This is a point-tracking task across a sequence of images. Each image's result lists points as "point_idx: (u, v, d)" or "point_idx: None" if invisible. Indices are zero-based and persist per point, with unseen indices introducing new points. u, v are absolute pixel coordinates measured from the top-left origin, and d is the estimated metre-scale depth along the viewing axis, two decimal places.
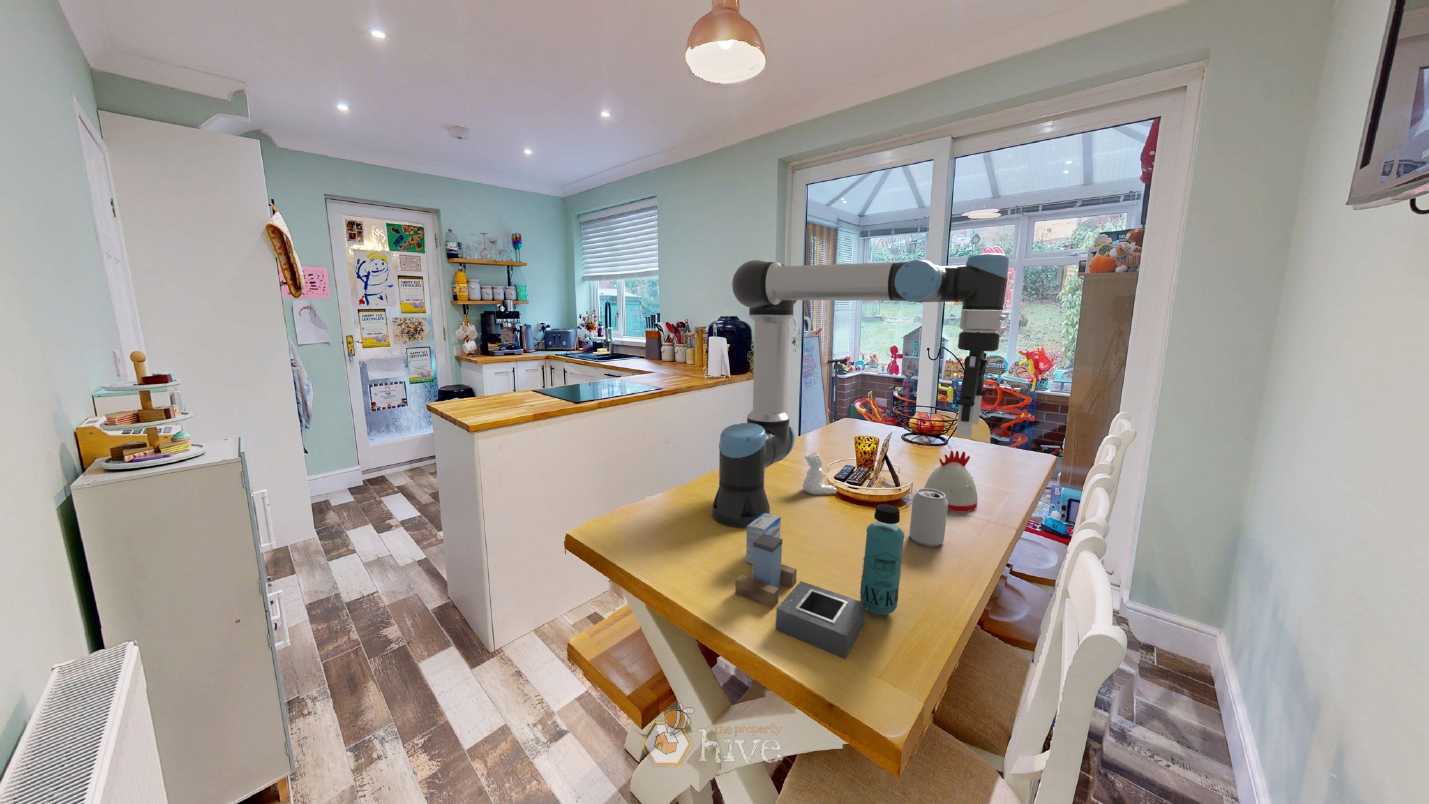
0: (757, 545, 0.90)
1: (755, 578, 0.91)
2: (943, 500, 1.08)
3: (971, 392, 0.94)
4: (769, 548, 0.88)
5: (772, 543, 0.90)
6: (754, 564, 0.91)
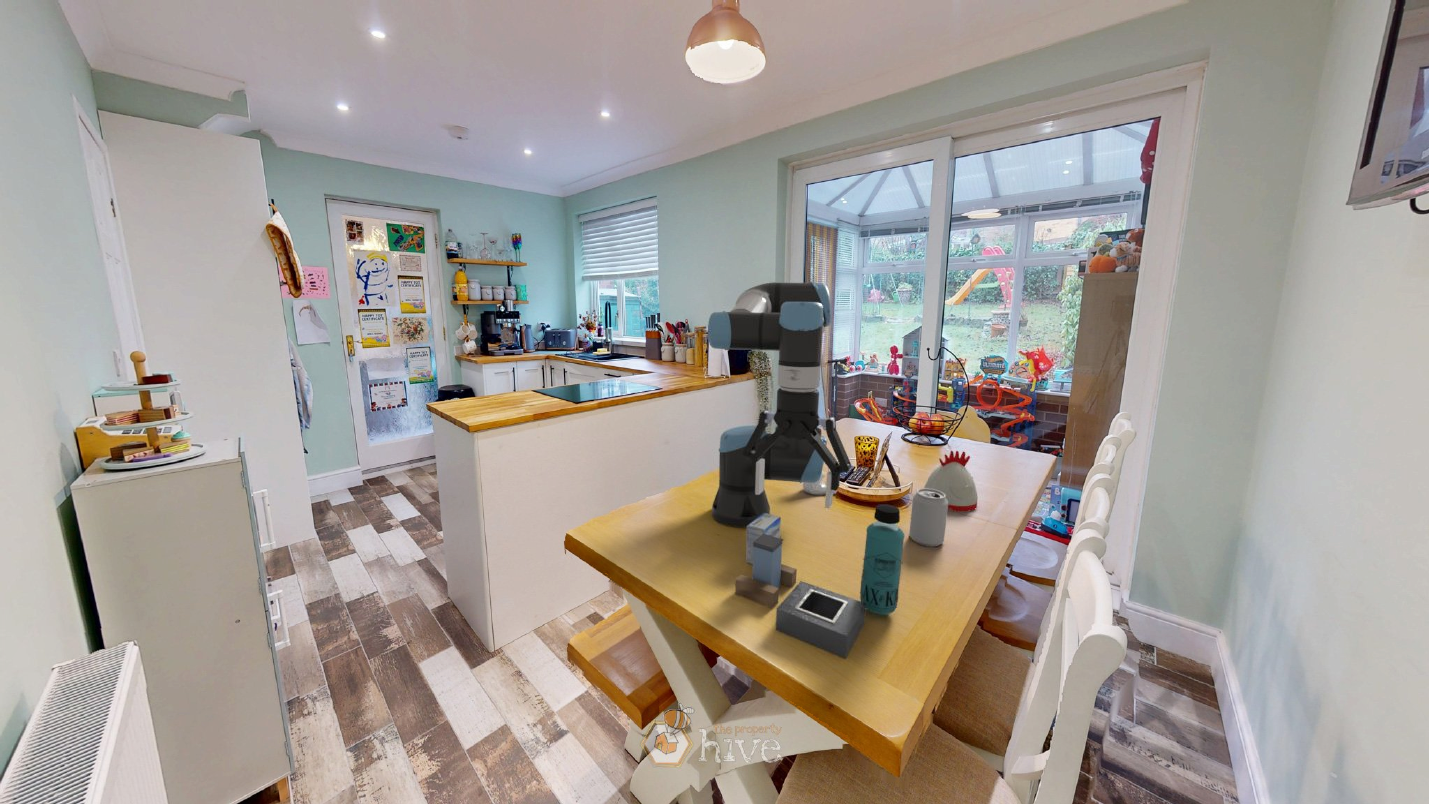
0: (757, 545, 0.90)
1: (755, 578, 0.91)
2: (943, 500, 1.08)
3: None
4: (769, 548, 0.88)
5: (772, 543, 0.90)
6: (754, 564, 0.91)
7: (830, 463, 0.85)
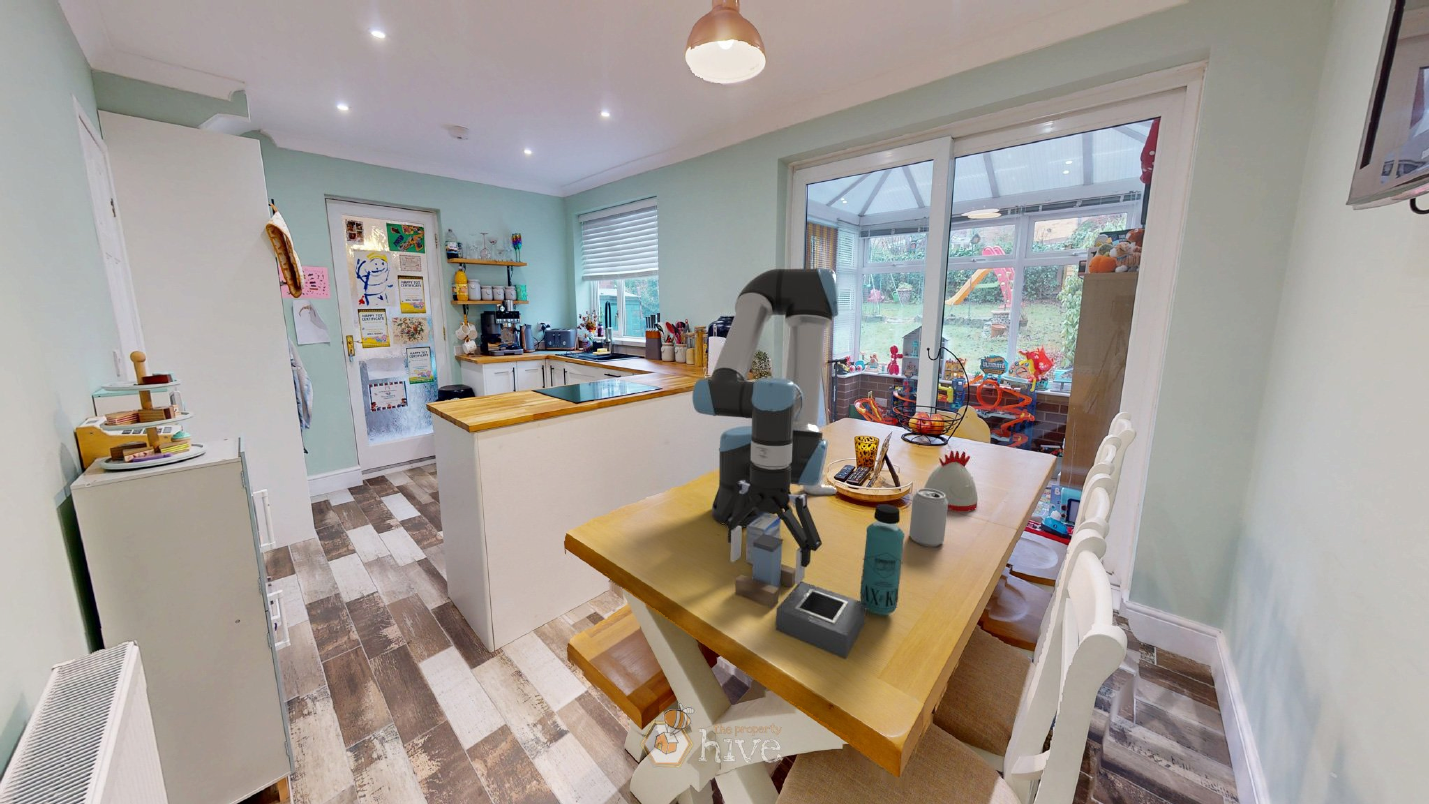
0: (757, 545, 0.90)
1: (755, 578, 0.91)
2: (943, 500, 1.08)
3: None
4: (769, 548, 0.88)
5: (772, 543, 0.90)
6: (754, 564, 0.91)
7: (799, 540, 0.85)
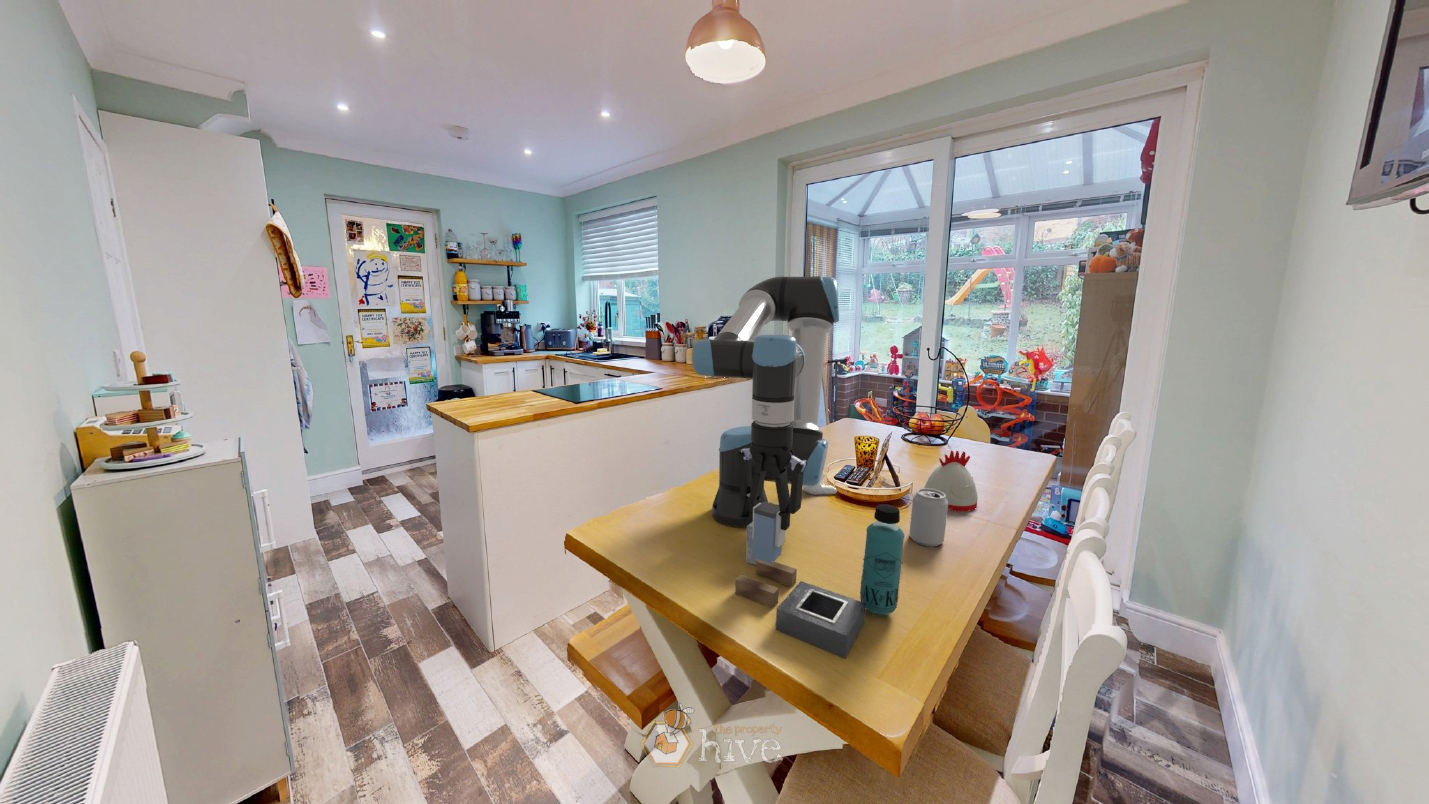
0: (758, 511, 0.89)
1: (756, 545, 0.90)
2: (943, 500, 1.08)
3: None
4: (770, 514, 0.87)
5: (773, 510, 0.89)
6: (755, 531, 0.90)
7: (782, 504, 0.87)
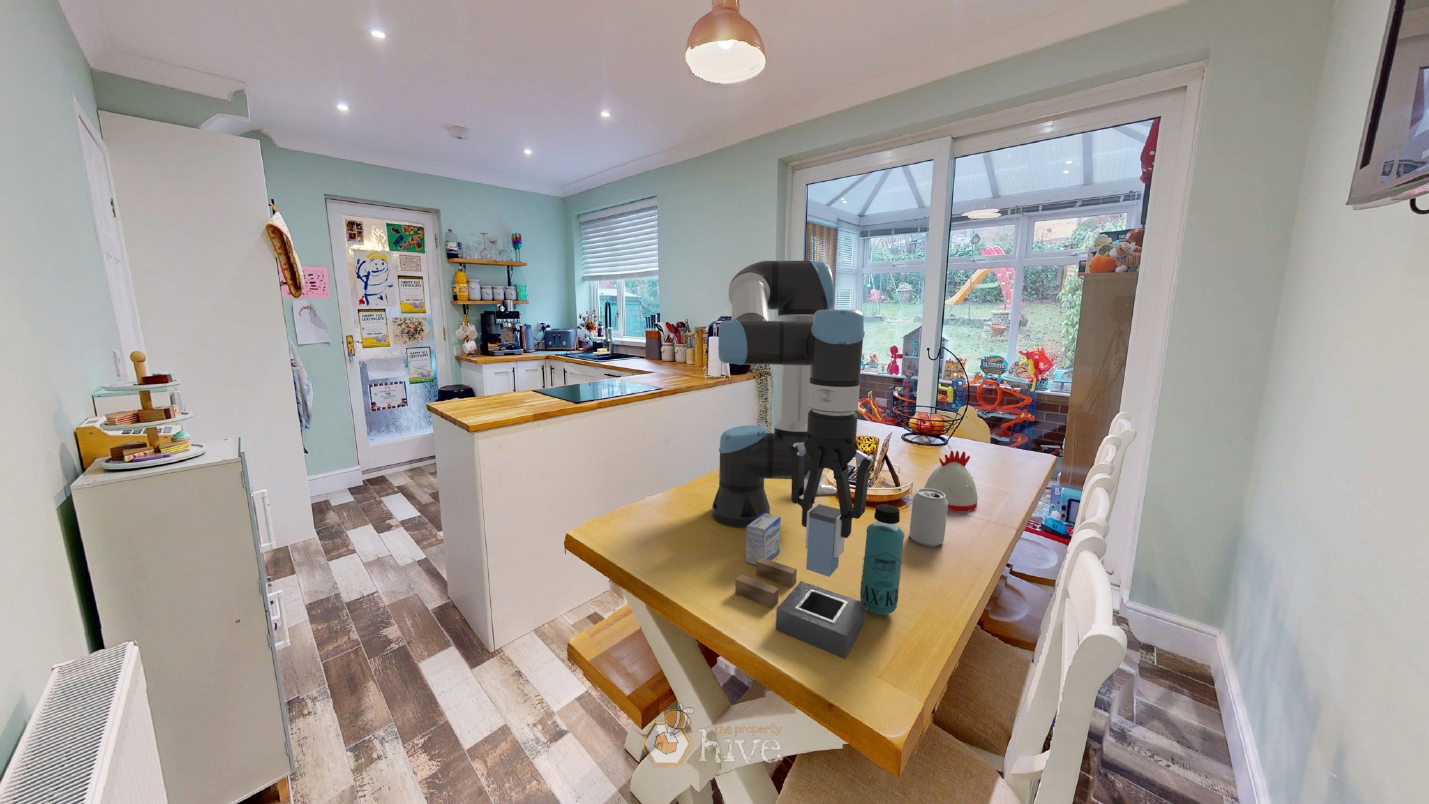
0: (814, 515, 0.76)
1: (810, 555, 0.78)
2: (943, 500, 1.08)
3: None
4: (830, 518, 0.75)
5: (832, 513, 0.76)
6: (810, 538, 0.77)
7: (844, 506, 0.74)
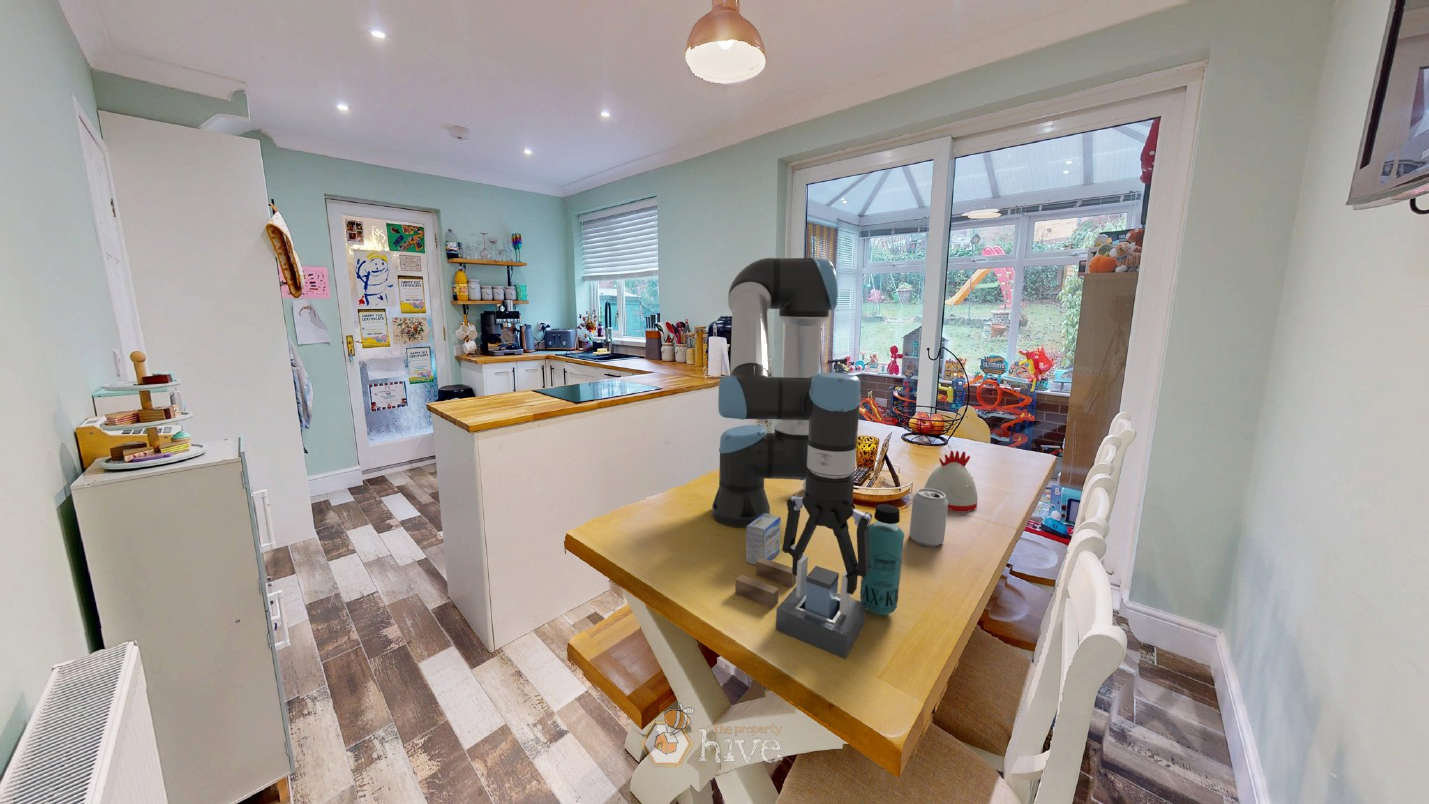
0: (811, 580, 0.78)
1: None
2: (943, 500, 1.08)
3: None
4: (826, 585, 0.77)
5: (828, 578, 0.78)
6: (807, 601, 0.79)
7: (849, 564, 0.76)
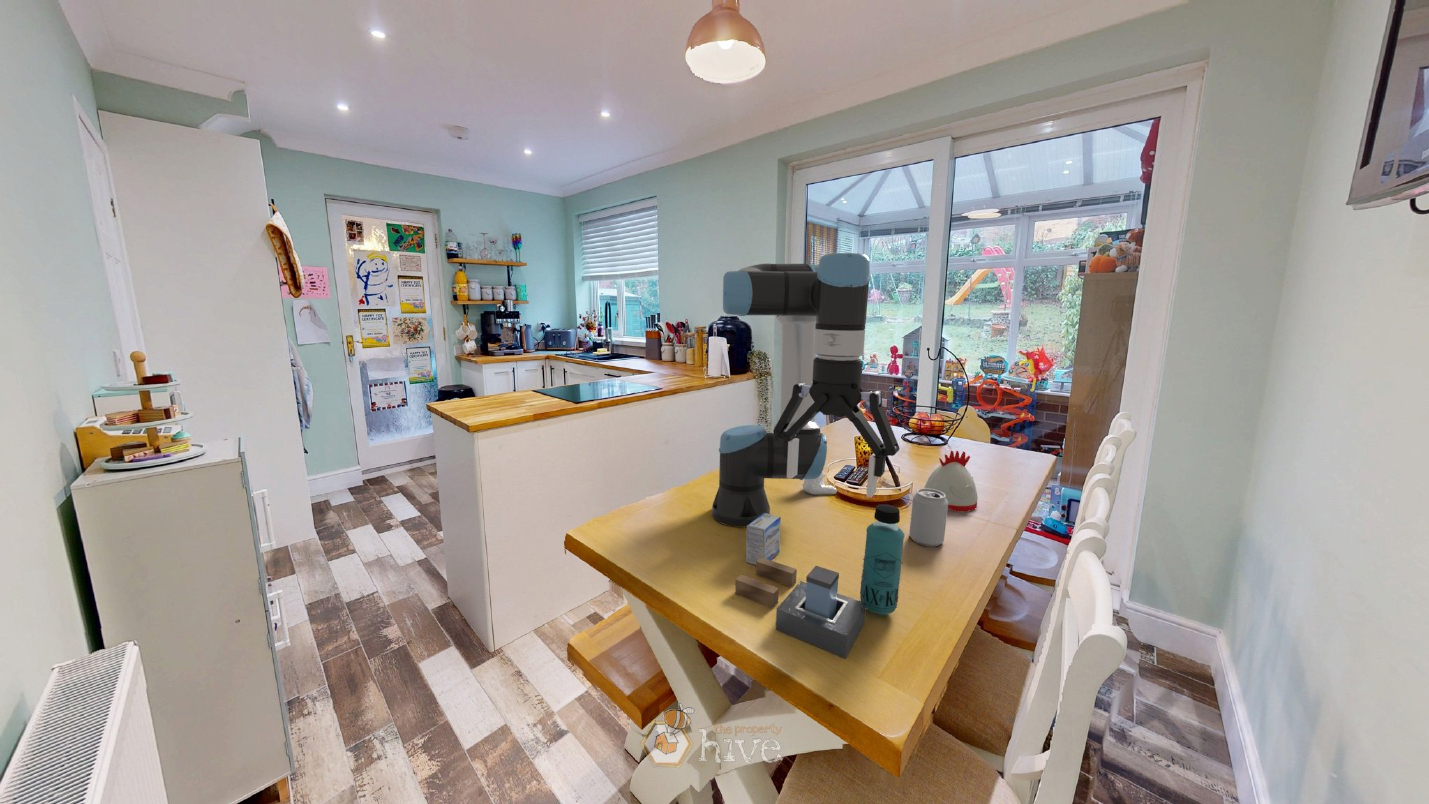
0: (811, 580, 0.78)
1: None
2: (943, 500, 1.08)
3: None
4: (826, 584, 0.77)
5: (828, 578, 0.78)
6: (807, 601, 0.80)
7: (874, 444, 0.73)
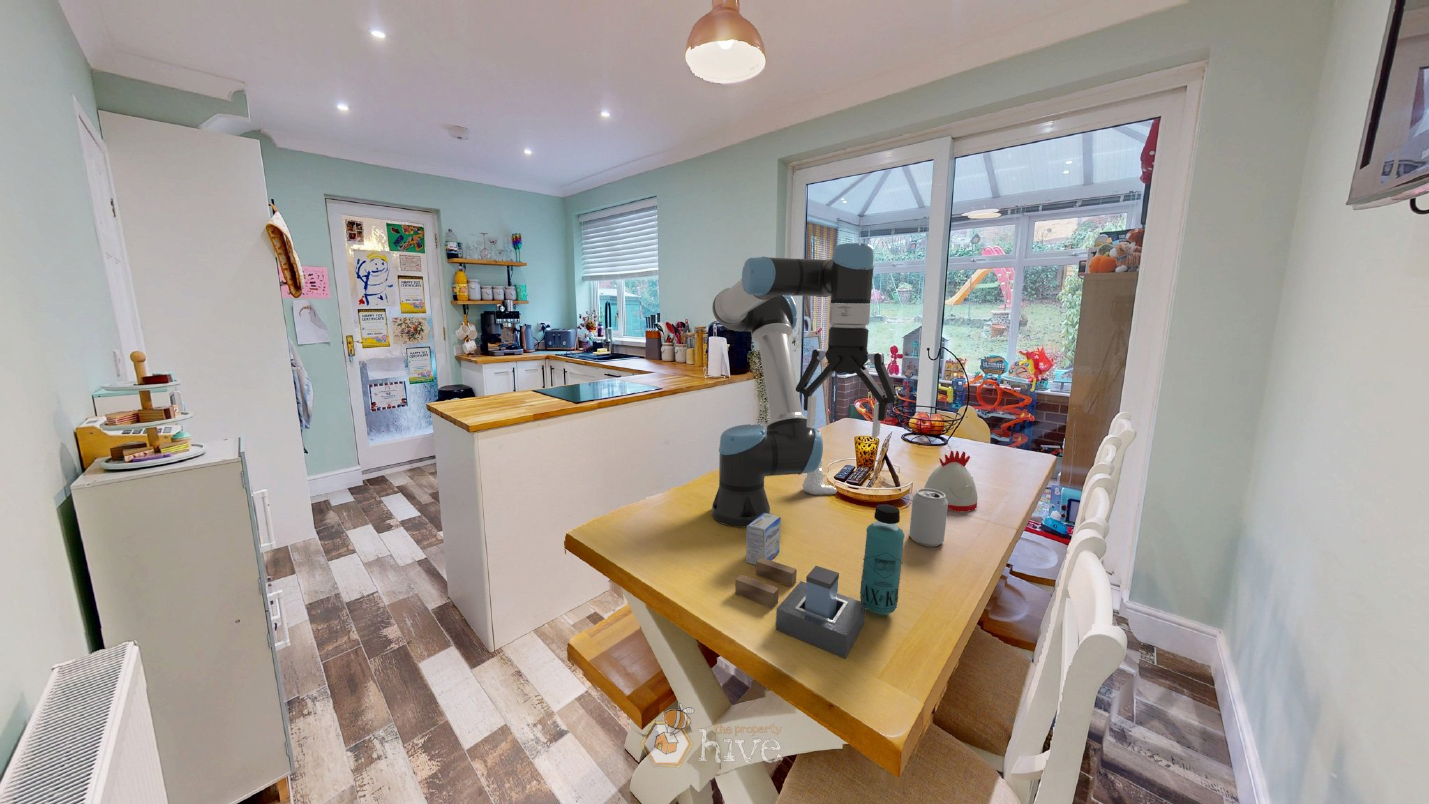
0: (811, 580, 0.78)
1: None
2: (943, 500, 1.08)
3: None
4: (826, 584, 0.77)
5: (828, 578, 0.78)
6: (807, 601, 0.80)
7: (877, 394, 0.92)
